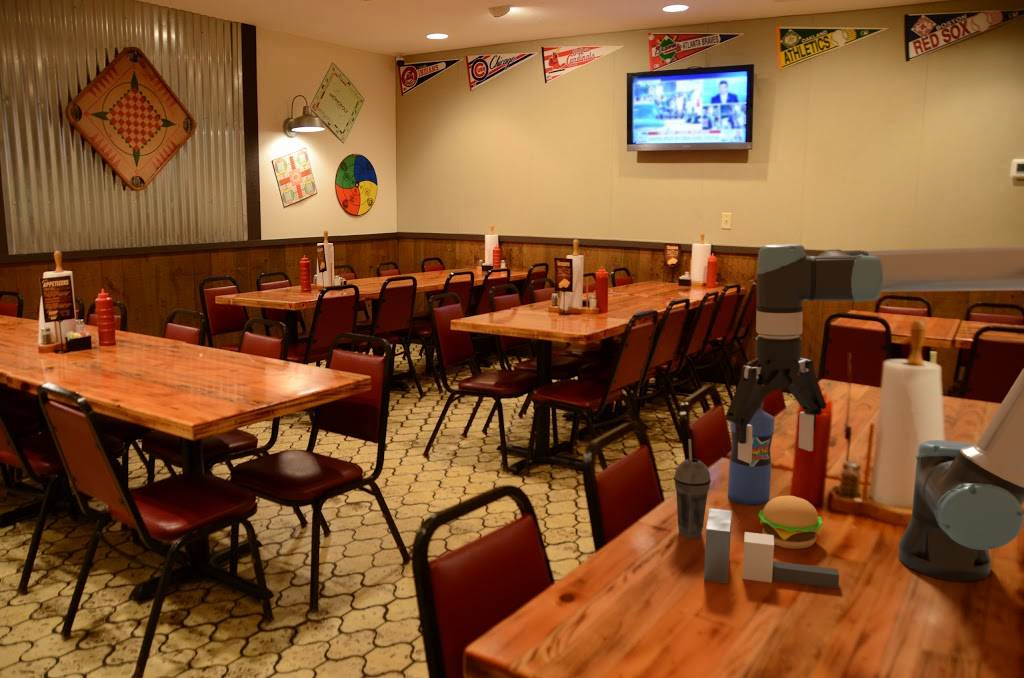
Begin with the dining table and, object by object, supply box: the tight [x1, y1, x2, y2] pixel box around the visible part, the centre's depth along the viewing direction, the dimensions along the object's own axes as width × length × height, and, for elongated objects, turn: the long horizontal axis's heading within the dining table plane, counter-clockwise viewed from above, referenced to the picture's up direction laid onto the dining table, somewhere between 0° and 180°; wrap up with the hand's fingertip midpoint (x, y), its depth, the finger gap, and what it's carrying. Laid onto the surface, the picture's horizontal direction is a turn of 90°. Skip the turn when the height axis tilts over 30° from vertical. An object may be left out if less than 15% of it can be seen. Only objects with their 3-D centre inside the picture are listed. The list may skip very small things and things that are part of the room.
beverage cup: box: [673, 438, 712, 539], centre depth 161 cm, size 7×7×20 cm
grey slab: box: [703, 507, 733, 585], centre depth 146 cm, size 4×10×10 cm, turn 163°
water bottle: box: [727, 400, 776, 506], centre depth 180 cm, size 9×9×25 cm
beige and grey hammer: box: [742, 531, 840, 590], centre depth 143 cm, size 16×4×7 cm, turn 73°
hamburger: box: [758, 495, 823, 550], centre depth 160 cm, size 12×12×9 cm
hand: (775, 454), depth 142 cm, fingers open, 13 cm apart
